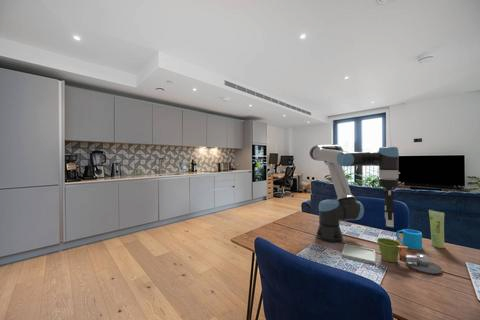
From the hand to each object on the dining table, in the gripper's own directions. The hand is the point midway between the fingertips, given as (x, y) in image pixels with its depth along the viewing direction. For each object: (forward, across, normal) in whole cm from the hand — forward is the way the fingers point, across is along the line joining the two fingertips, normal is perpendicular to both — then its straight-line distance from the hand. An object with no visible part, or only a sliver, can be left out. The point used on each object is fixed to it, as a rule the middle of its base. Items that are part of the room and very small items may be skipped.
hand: (388, 222), depth 93 cm
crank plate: (+18, 0, -12) cm, 22 cm away
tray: (+18, -2, +12) cm, 22 cm away
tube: (+19, +32, -23) cm, 43 cm away
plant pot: (+18, 0, 0) cm, 19 cm away
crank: (+17, -2, -9) cm, 19 cm away
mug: (+19, +26, -10) cm, 33 cm away
